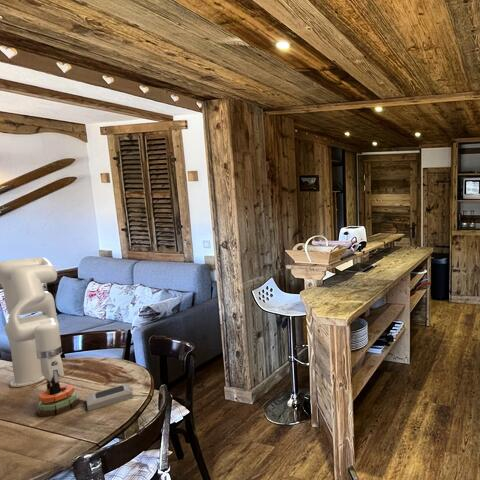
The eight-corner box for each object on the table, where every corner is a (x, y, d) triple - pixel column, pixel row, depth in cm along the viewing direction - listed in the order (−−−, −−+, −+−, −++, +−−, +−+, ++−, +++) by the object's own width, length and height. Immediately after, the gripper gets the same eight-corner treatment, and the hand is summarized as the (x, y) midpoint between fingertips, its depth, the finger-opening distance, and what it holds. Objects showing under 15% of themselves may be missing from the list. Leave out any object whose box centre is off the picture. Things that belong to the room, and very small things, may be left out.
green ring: (35, 404, 148) (35, 400, 148) (70, 392, 158) (70, 388, 157) (44, 413, 142) (43, 409, 142) (80, 400, 152) (79, 396, 152)
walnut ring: (34, 410, 148) (33, 405, 148) (72, 396, 158) (71, 391, 158) (43, 419, 142) (43, 414, 142) (82, 404, 152) (82, 400, 152)
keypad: (85, 393, 154) (128, 381, 165) (86, 401, 155) (129, 389, 165) (87, 403, 147) (131, 390, 158) (87, 411, 148) (132, 397, 158)
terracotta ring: (36, 397, 148) (36, 393, 148) (68, 386, 156) (68, 382, 156) (44, 405, 143) (44, 400, 142) (77, 393, 151) (76, 389, 151)
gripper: (68, 353, 148) (72, 394, 151) (54, 344, 157) (59, 383, 159) (43, 360, 142) (48, 403, 144) (31, 350, 150) (35, 391, 152)
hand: (54, 392), depth 152 cm, fingers closed on terracotta ring, 2 cm apart
